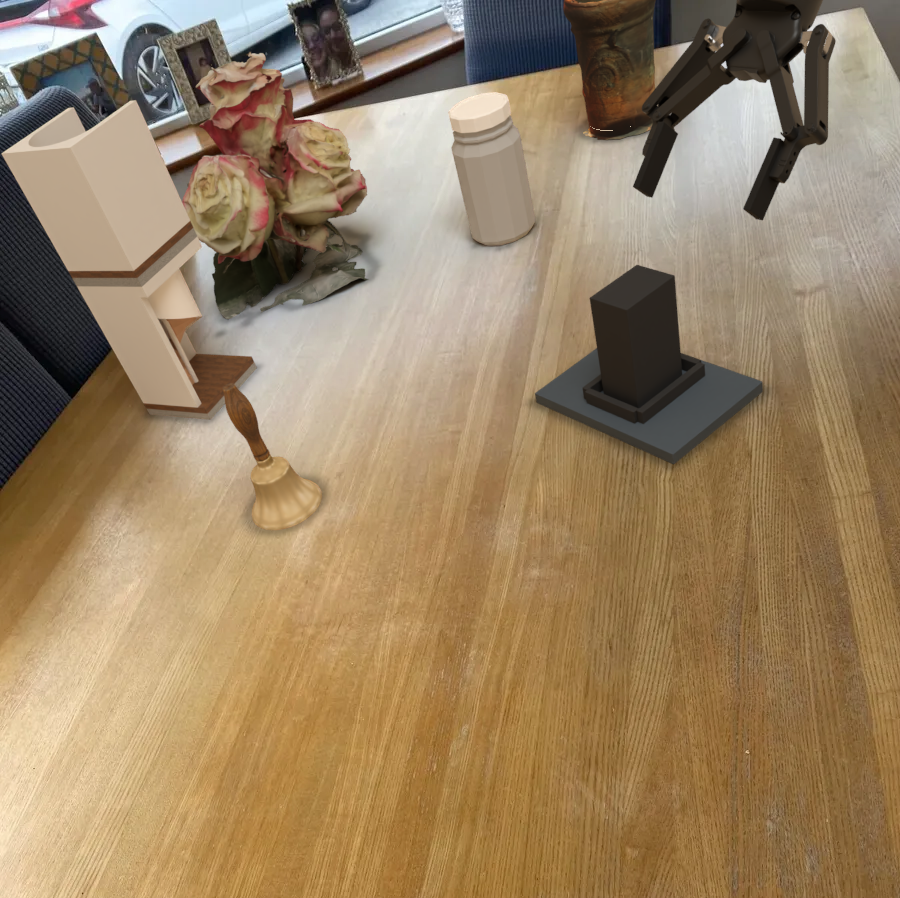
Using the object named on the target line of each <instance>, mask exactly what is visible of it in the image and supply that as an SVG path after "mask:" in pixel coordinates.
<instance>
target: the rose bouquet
mask: <svg viewBox="0 0 900 898" xmlns="http://www.w3.org/2000/svg"><path fill="white" fill-rule="evenodd" d="M246 56H248V57H249V58H248V59H247V60H246V62H244V61H241V62H240V61H235V60H233V61H230V62H228V63H224V64H222V65H220V66H217V68H214V67H211V70H209V71H208V72H207V75H205V76H203V77H202V78H200V80H199V82H198V83H197V84H196V85H195V88H196V89H197V90H200V91H201V93H202V94H203V95H204V97H205V98H206V99H207V100H208V101H209V102H210V104H209V108H208V110H209V114H210V118H208V119H207V120H205V121H204V122H202V123H200V124H199V125H198V127H199V128H201V129H203V130H204V131H205V132H206V133H207V134H208V136H209V137H210V138H211V140H212V141H213V142H214V144H215V145H216V147H217V148H218V149H219V151H220V152H221V154H216V155H203V156H201V158H200V159H199V160H198V161H197V163H196V165H194V167H193V169H192V172H191V174H190V177H189V182H188V183H186V184H187V188H186V190H185V192H184V195H183V197H182V199H181V201H182V203H183V205H184V208H185V210H186V212H187V214H188V217H189V219H190V221H191V223H192V225H193V228H194V230H195V232H196V234H197V236H198V239H199V241H200V243H203V244H205V245H206V247H208V248H210V249H211V250H213V251H214V252H215V253H214V254H213V257H212V259H213V262H212V263H213V267H214V271H213V272H212V273H211V276H212V279H213V295H214V298H215V304H216V307H217V308H218V310H219V312H220V314H221V315H222V317H224V319H226V320H231V319H233V318H235V317H236V316H238V315H240V314H241V313H242V312H243V311H245V310H246V309H247V307H248V306H250V308H254V307H256V306H257V305H258V304H259V303H260V302H262V300H263V298H265V297H266V296H267V295H269V294H270V293H271V292H272V291H274V288H276V286H277V285H279V286H281V285H286V284H288V283H289V282H290V281H291V280H292V279H293V276H294V274H295V273H298V272H301V271H302V270H303V268H304V267H306V266H307V263H305V262H304V261H303V259H304V256H305V254H306V253H307V252H308V251H307V249H310V250H313V251H315V252H319V253H318V254H317V255H316V256H315V257H314V258H313V260H312V261H311V262H312V264H313V265H314V268H313V270H312V272H311V274H310V276H309V278H307V279H306V280H304V281H303V282H301V283H300V284H298V285H296V286H294V287H292V288H291V287H290V288H289V289H286V290H284V291H282V292H280V293H278V294H277V295H276V296H275V297H274V302H273V303H272V304H271V305H266V306H262V307H260V308H259V310H260V311H261V312H260V314H262V313H263V312H265V311H268V310H270V309H272V308H274V307H276V306H278V305H282V306H284V303H286V302H288V301H291V300H302V304H301V306H302V307H303V306H307V305H310V304H313V303H316V302H319V301H321V300H323V299H325V298H326V297H328V296H329V295H331V294H333V292H336V291H338V290H339V289H341V288H342V287H344V286H347V285H348V284H350V283H351V282H354V281H356V280H359V279H362V280H365V281H366V280H367V281H368V278H366V269H365V268H361V267H360V268H355V267H356V266H357V261H350V260H352V259H355V258H357V257H359V256H361V255H362V254H363V249H361V248H360V247H359V245H357V244H350V243H348V242H347V241H346V240H345V238H344V236H343V235H342V234H341V233H340V231H339V230H338V228H337V226H335V225H334V224H333V222H331V221H329V220H330V219H337V218H340V217H345V216H346V217H347V216H350V215H353V214H354V213H357V209H358V208H359V207H360V206H361V204H362V203H363V201H364V200H365V198H366V197H367V196H368V186H367V184H366V183H367V182H366V178H365V176H364V175H363V173H362V172H361V170H360V169H355V170H354V169H353V168H351V161H352V158H351V156H350V155H349V154H350V151H351V148H349V143H348V139H347V137H346V136H345V134H344V132H343V131H341V130H340V129H339V128H334V127H329V126H326V124H324V123H322V122H320V121H314V120H313V119H310V118H309V119H305V118H304V119H295V117H294V114H293V111H294V96H293V92H292V89H291V88H285V87H284V83H285V81H286V80H285V77H283V73H282V72H281V70H279V69H276V68H263V67H264V64H265V62H266V60H267V58H266V55H265V54H264V53H263V52H259V53H252V51H249V52H248V53H246ZM210 65H211V66H212V64H210ZM334 234H335V235H336V236H337V237H339V238H340V239H341V240H342V242H341V244H339V243H331V242H330V239H331V238H333V237H334ZM334 269H335V270H334Z"/></svg>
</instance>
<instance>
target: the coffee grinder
mask: <svg viewBox="0 0 900 898" xmlns="http://www.w3.org/2000/svg"><path fill="white" fill-rule="evenodd" d="M1 155H2V157H3V159H4V161H5V163H6V165H7V166H8V167H9V170H10V172H11V173H12V175H13V176H14V178H15V180H16V182H17V183H18V186H19V187H20V190H21V191H22V192H23V194H24V196H25V198H26V200H27V201H28V203H29V205H30V207H31V208H32V210H33V212H34V213H35V216H36V217H37V219H38V220H39V223H40V224H41V226H42V228H43V229H44V231H45V233H46V234H47V236H48V238H49V240H50V242H51V243H52V245H53V247H54V249H55V250H56V253H57V254H58V256H59V257H60V260H61V261H62V263H63V264H64V266H65V268H66V270H67V271H68V273H69V275H70V277H71V279H72V281H73V283H74V284H75V285H76V288H77V289H78V291H79V293H80V294H81V296H82V298H83V300H84V302H85V303H86V305H87V307H88V309H89V310H90V312H91V314H92V316H93V317H94V319H95V321H96V322H97V324H98V326H99V328H100V329H101V331H102V333H103V335H104V337H105V339H106V340H107V342H108V344H109V346H110V348H111V349H112V350H113V352H114V354H115V356H116V358H117V360H118V361H119V363H120V365H121V366H122V368H123V370H124V372H125V374H126V375H127V377H128V379H129V381H130V382H131V384H132V386H133V387H134V389H135V391H136V394H137V395H138V396H139V398H140V400H141V402H142V404H143V405H144V407H145V409H146V411H147V413H148V414H149V415H151V416H160V417H161V416H162V417H174V418H185V419H194V420H195V419H197V420H207V421H212V419H213V418H214V417H215V416H216V415H217V414H218V412H219V411H220V410H221V409H222V408H223V407H224V406H225V397H224V392H223V387H224V386H225V385H227V384H229V383H233V384H235V386H236V387H237V388H238V389H239V390H240V388H241V387H242V385H243V384H245V382H246V381H247V380H248V379H249V378H250V377H251V376H252V374H253V373H254V372H255V371H256V370H257V369H258V367H257V365H256V363H255V361H254V358H253V356H251V355H232V354H231V355H228V354H212V353H211V354H208V353H197V352H196V349H195V348H194V345H193V344H192V342H191V340H190V338H189V336H188V334H187V332H186V331H187V330H188V329H189V328H190V327H192V326H193V325H194V324H195V323H197V322H198V321H199V320H200V319H201V318H203V315H202V313H201V310H200V309H199V306H198V304H197V302H196V300H195V297H194V296H193V294H192V291H191V290H190V288H189V286H188V284H187V281H186V279H185V277H184V274H183V273H182V271H181V267H182V266H184V265H185V264H186V262H188V261H189V260H190V259H191V258H192V257H194V255H195V254H196V253H198V252H199V251H200V250H201V249H202V248H203V246H202V242H201V241H200V240H199V239H198V236H197V234H196V232H195V230H194V228H193V225H192V223H191V221H190V219H189V217H188V214H187V212H186V210H185V208H184V205H183V203H182V199H181V197H180V194H179V192H178V190H177V188H176V186H175V184H174V181H173V179H172V177H171V175H170V172H169V171H168V170H169V169H168V168H167V165H166V164H165V162H164V159H163V157H162V155H161V152H160V151H159V148H158V146H157V144H156V141H155V139H154V137H153V134H152V132H151V130H150V129H149V126H148V124H147V122H146V119H145V117H144V114H143V113H142V111H141V108H140V106H139V104H138V101H137V100H136V99H135V100H129V101H128V102H127V103H125V104H124V105H123V106H120V107H119V108H118V109H117V110H116V111H114V112H112V113H111V114H110V115H108V116H107V117H105V118H104V119H102V121H100V122H98V123H97V124H96V125H94V126H93V127H91V128H90V129H87V130H86V129H85V127H84V125H83V123H82V121H81V119H80V117H79V115H78V114H77V111H76V109H75V107H74V106H73V107H67V108H65V110H63V111H62V112H60V113H58V114H57V115H56V116H54V117H52V119H50V120H48V121H47V122H46V123H44V124H43V125H41V126H40V127H38V128H37V129H35V130H34V131H32V132H31V133H30V134H27V136H25V137H24V138H22V139H21V140H19V141H18V142H16V143H15V144H13V145H11V146H10V147H9V148H7V149H6V150H4V151H3V152H2V153H1Z"/></svg>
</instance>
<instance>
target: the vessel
mask: <svg viewBox="0 0 900 898" xmlns="http://www.w3.org/2000/svg"><path fill="white" fill-rule="evenodd" d="M656 1H657V0H563V8H562V9H563V14H564V17H565V19H567V20H568V22H569V23H570V25H571V27H570V32H571V33H572V34H573V36H574V40H575V47H576V54H577V61H578V64H579V68H580V73H581V82H582V88H581V89H582V91H581V93H582V97H583V100H584V106H585V111H586V117H587V122H588V129H587V130H586V131H583V132H582V133H583V135H585V136H586V137H590V138H596V139H597V140H606V141H609V140H622V139H624V138H626V137H632V136H638V135H642V134H645V133H646V132H648V131H650V130H651V127H652V124H653V121H652V119H651V118H650V117H649V116H648V115H646V114H645V113H644V112H643V111H642V105H643V104H644V102H645V101H646V100H647V98H648V97H649V96H650V95H651V93H652V92H653V91H654V90H655V88H656V82H655V81H656V79H655V75H656V74H655V73H656V67H655V66H656V65H655V64H656V63H655V33H654V15H655V7H656ZM590 126H591V127H590ZM630 126H631V127H630ZM592 127H593V128H595V129H593V128H592ZM596 129H600V130H613V131H600V130H596Z"/></svg>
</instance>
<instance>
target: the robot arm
mask: <svg viewBox="0 0 900 898" xmlns="http://www.w3.org/2000/svg"><path fill="white" fill-rule="evenodd" d="M823 2H824V0H736V2H735V3H736V4H735V13H734V16H733V18H732V19H731V21H730V22H729V23H728V25H726V26H723V25H719V24H715V22H714V21H713V20H712V19H711V18H705V19H704V20H702V22H701V24H700V26H699V27H698V29H697V31H696V34H695V36H694V38H693V40H692V41H691V43H690V44H689V46H688V47H687V48H686V49H685V50H684V51H683V53H682V55H680V57H679V58H678V59H677V61H676V62H675V63H674V64H673V65H672V67H671V68H670V70H668V72H667V73H666V74H665V75H664V76H663V78H662V79H661V81H660V82H659V83H658V84H657V86H655V90H654V91H653V92H652V93H651V95H650V96H649V97H648V98H647V100H646V101H645V102H644V104H643V105H642V111H643V112H644V113H645V114H646V115H648V116H649V117H650V118H651V119H652V121H653V124H652V126H651V127H650V128H651V129H650V130H649V132H648V135H647V138H646V140H645V143H644V144H643V147H642V152H641V156H643V160H642V162H641V165H640V167H639V170H638V172H637V175H636V178H635V180H634V182H633V185H632V188H633V189H635V190H637V192H640V193H641V194H643V196H645V197H648V198H651V199H652V198H653V197H654V195H655V193H656V191H657V188H658V186H659V185H658V184H659V182H660V180H661V178H662V176H663V175H662V174H663V173H664V170H665V167H666V165H667V162H668V160H669V158H670V155H671V153H672V150H673V148H674V145H675V143H676V140H677V138H678V135H679V132H677V131H676V130H675V127H676V126H678V125H679V124H680V123H681V122H683V120H684V119H686V118H687V117H688V116H689V115H690V114H691V113H693V112H694V111H695V110H696V109H697V108H699V106H700V105H702V104H703V103H704V102H706V100H707V99H709V98H710V97H711V96H712V95H714V94H715V93H716V92H717V91H718V90H719V89H720V88H721V87H723V86H725V85H726V86H727V85H730V84H731V83H733V81H735V80H736V79H737V80H738V81H740V82H741V81H742V82H748V81H753V80H754V81H756V82H757V83H761V84H766V83H767V81H769V83H770V87H771V91H772V96H773V100H774V104H775V107H776V111H777V115H778V119H779V124H780V127H781V130H782V131H780V133H779V134H780V135H781V136H782V137H783V138H784V139H782V138H779V137H773V138H772V140H771V142H770V144H769V147H768V150H767V152H766V155H765V157H764V159H763V161H762V163H761V166H760V168H759V170H758V173H757V175H756V177H755V179H754V182H753V185H752V187H751V189H750V191H749V194H748V196H747V199H746V201H745V204H744V206H743V208H742V210H744V211H745V212H746V213H747V214H749V216H751V217H753V218H754V219H755V220H757V221H764V219H765V217H766V214H767V211H768V210H769V208H770V205H771V203H772V200H773V198H774V195H775V194H776V191H777V189H778V187H779V184H785V183H786V182H787V181H788V180H789V178H790V176H791V174H792V172H793V170H794V167H795V164H796V163H797V160H798V158H799V156H800V153H801V152H802V150H803V149H804V148H805V147H808V146H812V145H815V144H816V145H817V146H822V145H824V144H825V143H826V142H827V140H828V138H829V92H830V91H829V85H830V83H829V81H830V80H829V79H830V78H829V77H830V76H829V75H830V74H829V73H830V71H829V70H830V60H831V58H832V54H833V52H834V50H835V49H834V48H835V45H836V38H835V36H834V35H833V34H832V33H831V32H830V31H829V29H828V28H827V27H826V26H825V24H823V23H818V24H817V25H815V26H814V27H813V25H814V23H815V22H816V21H815V20H816V18H817V16H818V13H819V11H820V9H821V6H822V4H823ZM812 27H813V29H812V30H810V29H811V28H812ZM721 45H722V46H721ZM801 52H803V53H804V89H803V90H804V92H803V94H804V96H803V97H804V99H803V102H804V103H803V117H802V113H801V110H800V106H799V101H798V98H797V95H796V90H795V87H794V83H795V82H794V81H795V80H794V76H793V73H792V69H791V65H790V63H791V62H792V61H793V60H794V59H795V58H796V57H797V56H798V55H799V54H800V53H801ZM724 63H725V65H726V66H724V65H723V64H724Z"/></svg>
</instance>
